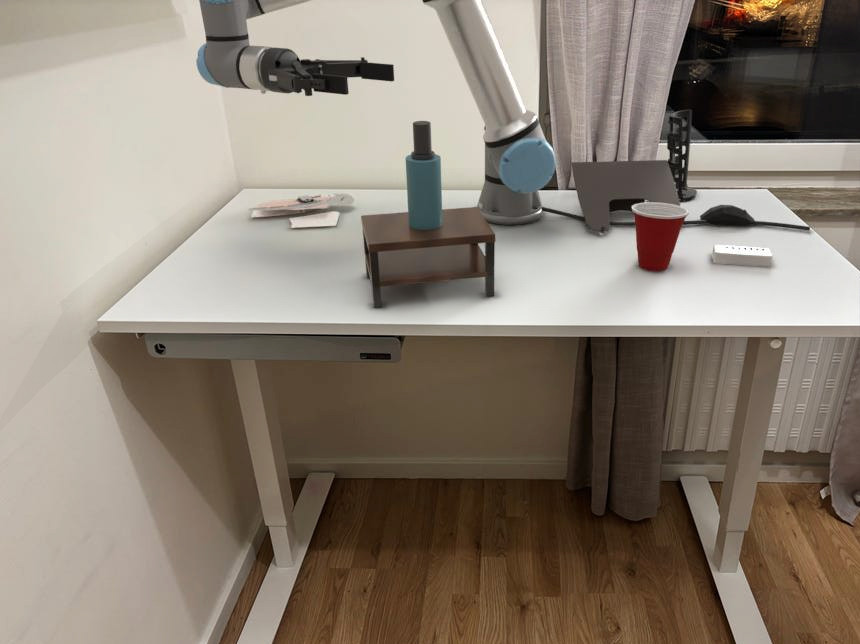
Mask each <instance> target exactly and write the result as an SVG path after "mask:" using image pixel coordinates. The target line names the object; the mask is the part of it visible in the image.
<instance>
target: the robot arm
mask: <svg viewBox="0 0 860 644" xmlns="http://www.w3.org/2000/svg"><path fill="white" fill-rule="evenodd" d="M198 1H199V6H200V12H201V19H202V23H203V29H204V35H205V43H203V44H202V45H201V46H200V47H199V48H198V50H197V58H196V59H195V62H196V69H197V71H198V73H199V75H200V76H201V78H202V79H203V80H204V81H205V82H207V84H211V85H215V86H220V87H223V88H226V89H229V88H230V89H232V88H233V89H244V90H245V89H246V90H253V91H254V90H255V91H260V93H261V94H262V95H265V94H266V93H267V92H272V93H279V94H292V93H295V94H300V93H302V92H303V91H304V96H305V97H311V96H313V92H315V93H325V94H336V95H345V96H346V95H349V92H350V91H349V82H348V78H361V79H362V80H371V81H372V80H373V81H383V82H395V68H394V64H392V63H380V62H368V60H367V59H366V58H365V57H363V56H361V57H360V59H337V60H336V59H318V58H316V59H314V60H312V59H310V58H304V59H300V57H299V56H298V54H297V53H296V52H295V51H294V50H292V49H290V48H286V47H272V46H266V45H265V46H264V45H250V38H249V37H250V36H249V31H248V23H247V20H251V19H253V18H256V17H260V16H263V15H266V14H269V13H273V12H276V11H280V10H283V9H287V8H291V7H293V6H298V5H301V4H304V3H308V2H311V1H313V0H198ZM421 2H422V3H423V5H425V6H426V7H430V8H432V9H433V10H434V11H435V12H436V15H437V17H438V20H439V22H440V24H441V26H442V28H443V31H444V34H445V36H446V38H447V40H448V42H449V45H450V47H451V50H452V52H453V54H454V56H455V59H456V61H457V63H458V65H459V67H460V70H461V72H462V75H463V77H464V80H465V81H466V84H467V87H468V88H469V91H470V93H471V95H472V97H473V100H474V102H475V105H476V107H477V110H478V112H479V113H480V116H481V119H482V120H483V123H484V127H483V131H484V133H483V136H482V140H483V142H484V183H483V186H482V189H481V192H480V195H479V198H478V201H477V205H476V207H477V208H478V210H479V211H480V213H481V214H482V215H483V217H484V218H485V220H486V221H487V223H491V224H495V225H505V226H516V225H517V226H518V225H526V224H530V223H534V222H536V221H538V220H540V219H541V218H542V216H543V212H545V213H550V214H554V215H559V216H563V217H566V218H570V219H575V220H579V221H583V222H586V221H585V218H584V216H582V215H578V214H575V213H569V212H566V211H562V210H559V209H558V210H557V209H553V208H550V207H544V206H543V203H542V200H541V196H540V194H539V190H542V189H543V188H545V186H547V185H548V184H549V182H550V181H551V180H552V178H553V176H554V174H555V171H556V167H557V160H556V155H555V151H554V149H553V147H552V145H551V144H550V143H549V142H548V141H547V139H546V136H545V134H544V132H543V129H542V126H541V124H540V122H539V121H540V120H539V118H538V115H537V114H536V113H535V112H534V111H532V110H528V109H527V108H526V107H525V104H524V101H523V99H522V96H521V95H520V92H519V90H518V87H517V85H516V82H515V80H514V77H513V75H512V72H511V69H510V67H509V65H508V62H507V59H506V57H505V54H504V52H503V49H502V47H501V44H500V42H499V39H498V37H497V34H496V32H495V29H494V26H493V25H492V22H491V18H490V17H489V14H488V12H487V9H486V7H485V4H484V2H483V0H421ZM686 225H687V226H689V225H691V226H692V225H709V224H708V223H707V221H706V220H701V219H699V220H698V219H697V220H684V222H683V225H682V226H686ZM752 225H753V226H766V227H777V228H786V229H794V230H800V231H808V232H809V231H810V230H811V226H807V225H799V224H792V223H785V222H784V223H783V222H773V221H764V220H763V221H762V220H755V221H754V222H753V224H752ZM752 225H751V226H752ZM610 226H614V227H615V226H617V227H636V226H635V221H611V220H610Z"/></svg>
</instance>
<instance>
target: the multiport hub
mask: <svg viewBox="0 0 860 644" xmlns="http://www.w3.org/2000/svg"><path fill="white" fill-rule="evenodd" d="M711 254H712V255H711V258H712V262H713V263H714V264H719V265H734V266H747V267H748V266H750V267H762V268H763V267H764V268H770V267H771V266H772V262H773V257H774V255H773V253H772V251H771V249H770V248H768V247H754V246H753V247H752V246H740V245H739V246H738V245H725V244H714V245H713V247H712V252H711ZM713 263H712V264H713Z"/></svg>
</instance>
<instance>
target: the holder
mask: <svg viewBox="0 0 860 644" xmlns="http://www.w3.org/2000/svg"><path fill="white" fill-rule="evenodd" d="M683 118H686V124H685V125H683ZM692 119H693V110H692V109H683V110H678V111H674V112H673V113H671V114H670V115H669V116H668V121H667V123H668V124H669V132H668V133H667V134H666V135H667V137H666V139H667V140H666V143H667V144H666V149H667V150H668V152H669V154H668V155H669V157H668V159H667V162H668V165H669V167H670V170H671V173H672V176H673V179H674V183H675V186H676V190H677V194H678V197H679V201H680V202H687V201H689V200H691V199H693V198H695V197H696V196H697V194H698V191H697V189H695V188H693V187H690V186H688V175H689V162H690V149H691V137H692V135H691V134H692V123H693V122H692V121H693V120H692ZM677 126H678V127H677ZM684 132H685V139H683V133H684ZM683 147H685V149H684V153H683ZM683 161H684V162H683ZM677 175H678V177H677Z"/></svg>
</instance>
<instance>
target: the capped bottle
mask: <svg viewBox="0 0 860 644" xmlns="http://www.w3.org/2000/svg"><path fill="white" fill-rule="evenodd" d="M412 137H413V138H412V139H413V141H412V142H413V150H412V151H411V153H410V154H408V155H406V156H405V174H406V178H405V179H406V194H407V210H408V211H407V212H408V217H409V226H410V227H411V228H413V229H417V230H432V229H436V228H439V227H441V226H442V210H443V199H442V198H443V197H442V196H443V195H442V193H443V192H442V160H441V159H442V158H441V156H440V155H439V154H436V153H435V151H433V150H432V124H431V122H430V121H428V120H416V121H413V122H412Z"/></svg>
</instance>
